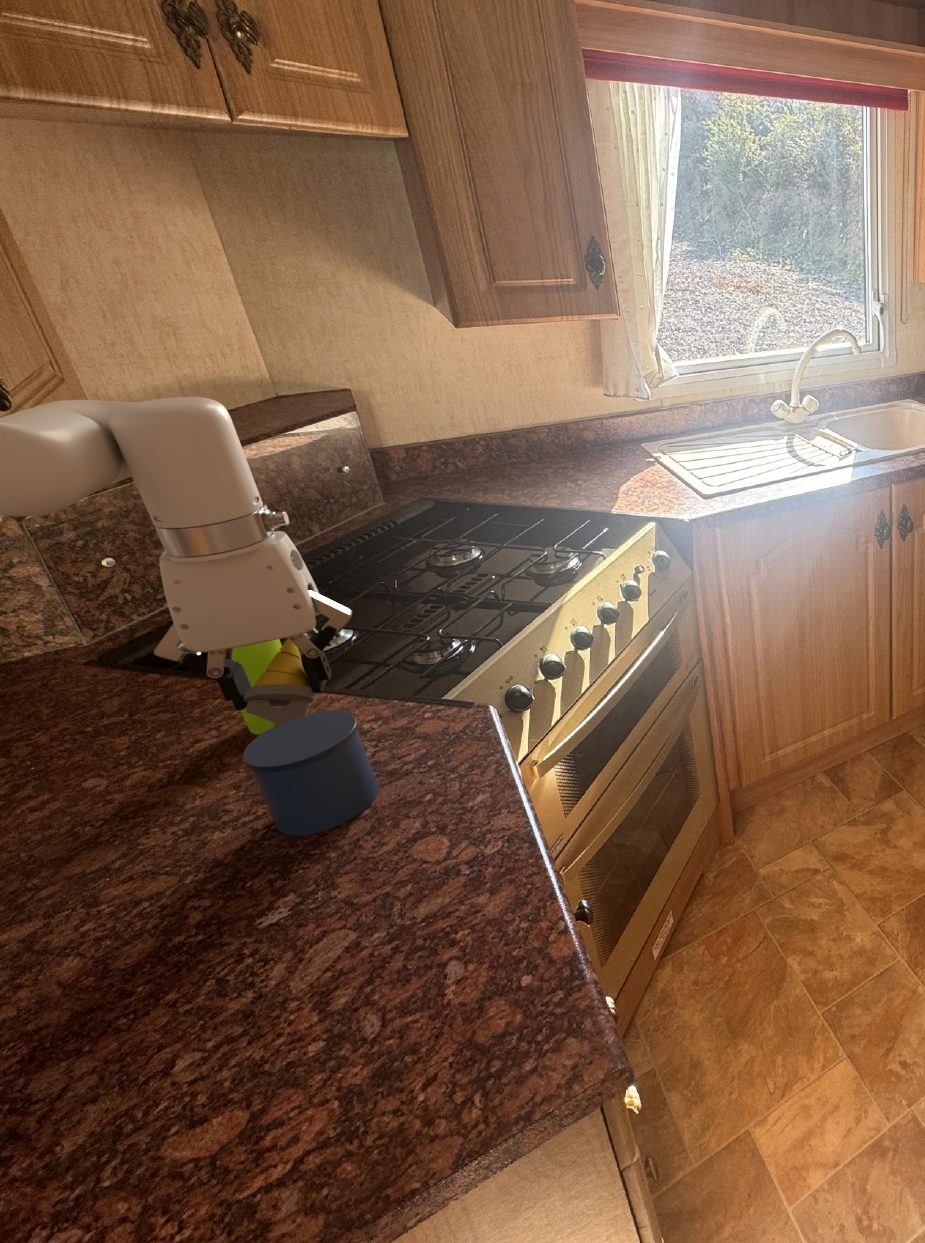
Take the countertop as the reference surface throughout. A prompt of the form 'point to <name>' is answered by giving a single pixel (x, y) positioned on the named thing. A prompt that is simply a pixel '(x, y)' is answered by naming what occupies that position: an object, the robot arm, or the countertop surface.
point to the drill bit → (281, 688)
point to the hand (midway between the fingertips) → (283, 693)
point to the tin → (312, 772)
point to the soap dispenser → (256, 675)
